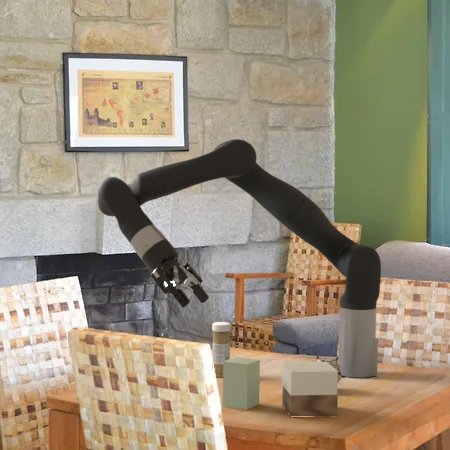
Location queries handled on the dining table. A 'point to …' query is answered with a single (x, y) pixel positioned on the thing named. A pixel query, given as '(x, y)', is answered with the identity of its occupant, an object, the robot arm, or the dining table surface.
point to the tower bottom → (310, 404)
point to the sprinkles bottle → (220, 345)
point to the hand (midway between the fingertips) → (196, 302)
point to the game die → (333, 364)
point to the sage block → (241, 383)
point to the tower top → (309, 378)
